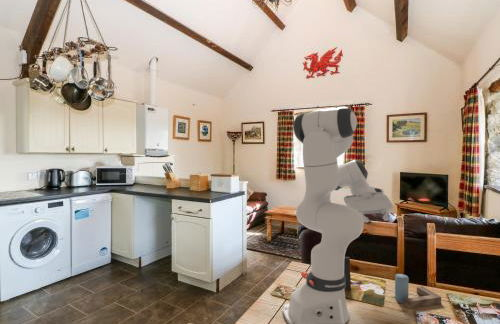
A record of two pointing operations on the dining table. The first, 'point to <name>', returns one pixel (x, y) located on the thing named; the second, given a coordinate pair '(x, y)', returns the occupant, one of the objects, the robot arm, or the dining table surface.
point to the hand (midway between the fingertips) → (377, 220)
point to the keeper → (401, 287)
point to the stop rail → (423, 298)
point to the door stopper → (347, 272)
